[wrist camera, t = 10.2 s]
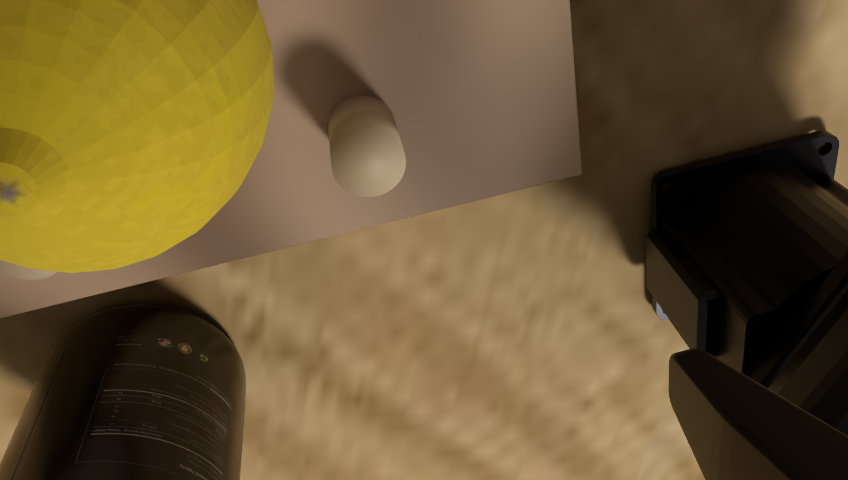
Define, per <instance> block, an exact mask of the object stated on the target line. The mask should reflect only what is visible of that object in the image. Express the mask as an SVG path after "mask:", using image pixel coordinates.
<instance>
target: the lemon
mask: <svg viewBox="0 0 848 480" xmlns="http://www.w3.org/2000/svg"><path fill="white" fill-rule="evenodd" d="M273 97H274V74H273V57H272V45H271V41H270V38H269V34H268V31H267V28H266V25H265V22H264V19H263V16H262V13H261V10H260V7H259V4H258V1H257V0H0V260H2V261H5V262H9V263H12V264H16V265H19V266H22V267H26V268H29V269H37V270H46V271H55V272H65V273H78V272H90V271H101V270H111V269H116V268H120V267H124V266H127V265H130V264H133V263H137V262H140V261H143V260H146V259H149V258H153V257H155V256H157V255H159V254H161V253H163V252H164V251H166V250H168V249H169V248H171V247H173V246H175V245H176V244H178V243H180V242H181V241H183V240H185V239H186V238H188V237H190V236H191V235H193V234H195V233H197V232H198V231H199V230H200V229H201V228H202V227H203V226H204V225H205V224H206V223H207V222H208V221H209V220H210V219H211V218H212V217H213V216H214V215H215V214H216V213H217V212H218V211H219V210H220V209H221V208H222V207H223V206H224V205H225V204H226V203H227V202H228V201H229V200H230V199H231V198H232V196H233V195H234V194H235V193H236V192H237V190H238V189H239V187H240V186H241V184H242V183H243V181H244V179H245V177H246V175H247V173H248V171H249V169H250V168H251V166H252V164H253V162H254V160H255V158H256V156H257V154H258V152H259V150H260V148H261V146H262V144H263V142H264V139H265V135H266V130H267V126H268V121H269V116H270V112H271V107H272V102H273Z"/></svg>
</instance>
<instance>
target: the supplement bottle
mask: <svg viewBox="0 0 848 480" xmlns="http://www.w3.org/2000/svg"><path fill="white" fill-rule="evenodd" d="M245 394H246V376H245V369H244V365H243V362H242V359H241V357H240V355H239V353H238V351H237V349H236V348H235V346H234V345H233V343H232V342H231V341H230V340H229V339H228V338H227V337H226V335H225V334H224V333H223V332H221V331H220V330H219V329H218V328H217V327H215V326H214V325H212V324H211V323H210V322H208V321H206V320H204V319H203V318H201V317H199V316H197V315H194V314H192V313H190V312H187V311H184V310H181V309H177V308H173V307H169V306H163V305H154V304H133V305H123V306H117V307H113V308H109V309H105V310H103V311H100V312H97V313H95V314H92V315H90V316H88V317H86V318H84V319H82V320H81V321H79V322H77V323H76V324H75V325H73V326H72V327H71V328H69V329H68V330H67V331H66V332H65V333H64V334H63V335H62V336H61V337H60V338H59V339H58V341H57V342H56V343H55V345H54V346H53V348H52V350H51V351H50V353H49V355H48V357H47V359H46V361H45V364H44V366H43V368H42V370H41V372H40V374H39V376H38V379H37V381H36V383H35V385H34V388H33V390H32V392H31V395H30V397H29V399H28V402H27V404H26V406H25V408H24V411H23V413H22V415H21V418H20V420H19V422H18V425H17V427H16V429H15V431H14V434H13V436H12V438H11V441H10V443H9V445H8V448H7V450H6V452H5V454H4V457H3V459H2V461H1V464H0V480H240V470H241V456H242V441H243V427H244V413H245Z"/></svg>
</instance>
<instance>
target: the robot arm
mask: <svg viewBox="0 0 848 480" xmlns="http://www.w3.org/2000/svg"><path fill="white" fill-rule="evenodd" d="M823 143H824V146H823V147H822V148H821V149H819V147H820V146H821V145H822V144H823ZM818 149H819V150H818ZM838 149H839V140H838V139H837V137H835V136H834V135H832V134H831V133H829V132H827V131H818V132H814V133H810V134H806V135H802V136H798V137H794V138H790V139H786V140H782V141H778V142H774V143H770V144H766V145H762V146H757V147H753V148H749V149H745V150H741V151H737V152H733V153H729V154H725V155H721V156H717V157H713V158H709V159H705V160H701V161H697V162H693V163H689V164H685V165H681V166H677V167H673V168H669V169H665V170H663V171H660V172H659V173H658V174H657V175H655V177H654V178H653V180H652V184H651V225H652V228H651V229H649V231H648V233H647V235H646V286H647V289H648V290H649V292H650V293H651V294H652V307H653V310H654V312H655V313H656V314H657V316H658V317H659V318H661V319H669V320H670V321H671V323H672V324H673V325H674V327H675V328H676V330H677V331H678V333H679V334H680V335H681V337H682V338H683V340H684V341H685V342H686V344H687V345H688V347H689V348H690V349H689V350H685V351H681V352H677V353H674V354H672V355H671V357H670V360H669V397H670V401H671V405H672V407H673V410H674V412H675V414H676V416H677V419H678V421H679V423H680V425H681V427H682V430H683V432H684V434H685V436H686V438H687V440H688V443H689V445H690V447H691V449H692V451H693V454H694V456H695V458H696V460H697V462H698V464H699V467H700V469H701V471H702V473H703V475H704V478H705V480H848V189H846V188H845V187H843V186H842V185H841V184H839V183H838V182H836V181H835V180H834V174H835V168H836V162H837V156H838ZM669 181H672V183H671V185H670V186H669V187H667V188H663V187H664V185H665V184H666V183H667V182H669Z"/></svg>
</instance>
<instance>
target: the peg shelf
mask: <svg viewBox="0 0 848 480" xmlns="http://www.w3.org/2000/svg"><path fill="white" fill-rule="evenodd" d="M257 1H258V4H259V7H260V10H261V13H262V16H263V19H264V22H265V25H266V28H267V31H268V34H269V38H270V41H271V45H272V57H273V74H274V97H273V102H272V107H271V112H270V116H269V121H268V126H267V130H266V135H265V139H264V142H263V144H262V146H261V148H260V150H259V152H258V154H257V156H256V158H255V160H254V162H253V164H252V166H251V168H250V169H249V171H248V173H247V175H246V177H245V179H244V181H243V183H242V184H241V186H240V187H239V189H238V190H237V192H236V193H235V194H234V195H233V196H232V198H231V199H230V200H229V201H228V202H227V203H226V204H225V205H224V206H223V207H222V208H221V209H220V210H219V211H218V212H217V213H216V214H215V215H214V216H213V217H212V218H211V219H210V220H209V221H208V222H207V223H206V224H205V225H204V226H203V227H202V228H201V229H200V230H199V231H198V232H197V233H195V234H193V235H191V236H190V237H188V238H186V239H185V240H183V241H181V242H180V243H178V244H176V245H175V246H173V247H171V248H169V249H168V250H166V251H164V252H163V253H161V254H159V255H157V256H155V257H153V258H149V259H146V260H143V261H140V262H137V263H133V264H130V265H127V266H124V267H120V268H116V269H111V270H101V271H90V272H78V273H65V272H55V271H46V270H37V269H29V268H26V267H22V266H19V265H16V264H12V263H9V262H5V261H2V260H0V318H4V317H8V316H12V315H16V314H20V313H24V312H28V311H32V310H36V309H40V308H44V307H48V306H52V305H56V304H60V303H64V302H68V301H72V300H76V299H80V298H84V297H88V296H92V295H96V294H101V293H105V292H109V291H113V290H117V289H121V288H125V287H129V286H133V285H137V284H141V283H145V282H149V281H153V280H157V279H161V278H165V277H169V276H173V275H177V274H181V273H185V272H189V271H193V270H197V269H201V268H206V267H210V266H214V265H218V264H222V263H226V262H230V261H234V260H238V259H242V258H246V257H250V256H254V255H258V254H262V253H266V252H270V251H274V250H278V249H282V248H286V247H290V246H294V245H298V244H302V243H306V242H311V241H315V240H319V239H323V238H327V237H331V236H335V235H339V234H343V233H347V232H351V231H355V230H359V229H363V228H367V227H371V226H375V225H379V224H383V223H387V222H391V221H395V220H399V219H403V218H407V217H411V216H416V215H420V214H424V213H428V212H432V211H436V210H440V209H444V208H448V207H452V206H456V205H460V204H464V203H468V202H472V201H476V200H480V199H484V198H488V197H492V196H496V195H500V194H504V193H508V192H512V191H516V190H521V189H525V188H529V187H533V186H537V185H541V184H545V183H549V182H553V181H557V180H561V179H565V178H569V177H573V176H577V175H581V174H582V167H581V153H580V139H579V125H578V111H577V97H576V84H575V70H574V56H573V42H572V28H571V14H570V0H257Z"/></svg>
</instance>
